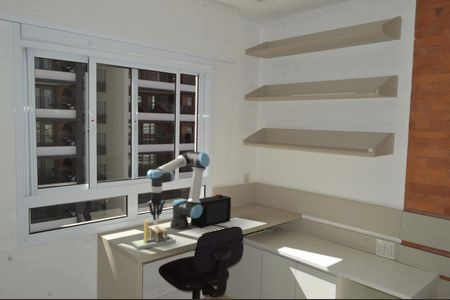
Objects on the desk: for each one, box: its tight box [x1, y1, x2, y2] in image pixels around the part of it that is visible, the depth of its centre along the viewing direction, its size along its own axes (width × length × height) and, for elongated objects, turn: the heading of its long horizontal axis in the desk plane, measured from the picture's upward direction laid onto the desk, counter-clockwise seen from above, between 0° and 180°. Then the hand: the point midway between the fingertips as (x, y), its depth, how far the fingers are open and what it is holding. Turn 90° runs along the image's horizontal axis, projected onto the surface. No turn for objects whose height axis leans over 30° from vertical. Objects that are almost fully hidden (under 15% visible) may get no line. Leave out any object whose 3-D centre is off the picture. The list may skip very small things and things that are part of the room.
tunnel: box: [149, 225, 168, 243], centre depth 249 cm, size 8×12×8 cm, turn 35°
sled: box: [143, 220, 165, 242], centre depth 247 cm, size 14×7×15 cm, turn 125°
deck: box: [131, 234, 176, 251], centre depth 247 cm, size 29×12×2 cm, turn 125°
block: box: [154, 231, 164, 238], centre depth 249 cm, size 5×5×5 cm
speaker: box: [190, 194, 232, 229], centre depth 302 cm, size 15×35×24 cm, turn 134°
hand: (155, 223), depth 247 cm, fingers closed
